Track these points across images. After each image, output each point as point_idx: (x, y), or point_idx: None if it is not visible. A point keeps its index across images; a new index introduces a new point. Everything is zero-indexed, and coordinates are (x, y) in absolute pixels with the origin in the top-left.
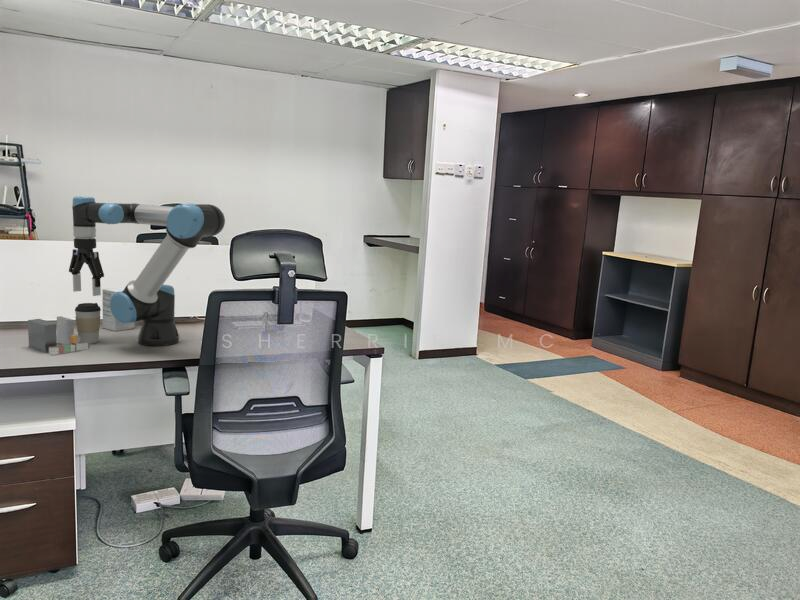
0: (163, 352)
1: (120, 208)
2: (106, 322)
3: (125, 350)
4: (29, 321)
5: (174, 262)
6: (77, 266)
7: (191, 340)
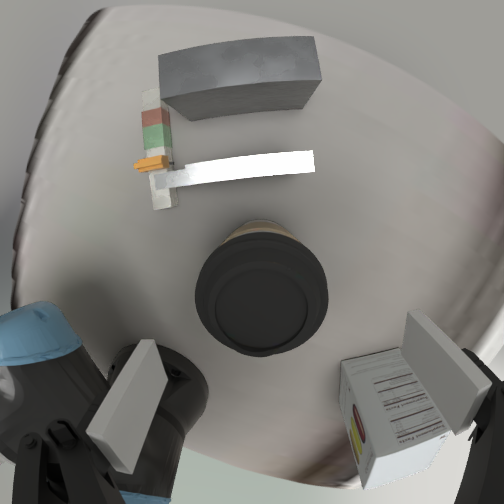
0: None
1: None
2: (386, 363)
3: (103, 283)
4: (297, 38)
5: None
6: (476, 490)
7: None
